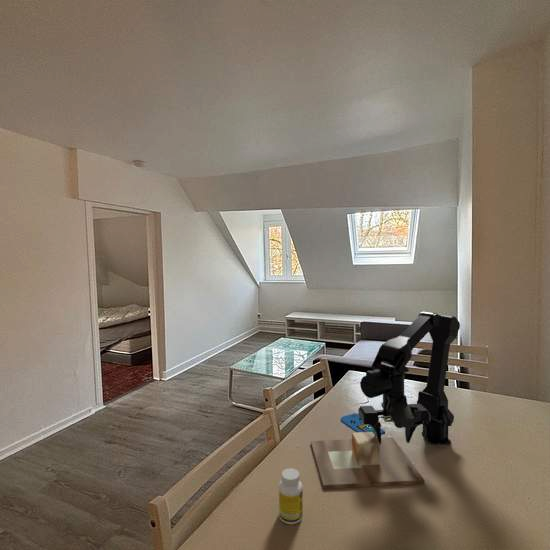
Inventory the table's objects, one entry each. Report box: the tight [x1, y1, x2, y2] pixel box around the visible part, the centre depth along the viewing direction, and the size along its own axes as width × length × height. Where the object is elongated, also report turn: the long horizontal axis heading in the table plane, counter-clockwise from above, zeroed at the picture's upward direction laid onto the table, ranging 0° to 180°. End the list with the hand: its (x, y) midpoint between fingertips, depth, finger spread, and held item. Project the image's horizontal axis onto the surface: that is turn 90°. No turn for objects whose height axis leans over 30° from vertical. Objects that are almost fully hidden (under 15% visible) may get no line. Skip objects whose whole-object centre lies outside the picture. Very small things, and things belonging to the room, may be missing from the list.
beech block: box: [351, 431, 380, 466], centre depth 93 cm, size 6×6×6 cm
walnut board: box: [310, 437, 426, 490], centre depth 93 cm, size 26×20×1 cm
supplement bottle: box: [278, 467, 304, 525], centre depth 74 cm, size 5×5×10 cm
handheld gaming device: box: [340, 412, 386, 437], centre depth 113 cm, size 8×1×15 cm
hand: (393, 443), depth 93 cm, fingers open, 8 cm apart
